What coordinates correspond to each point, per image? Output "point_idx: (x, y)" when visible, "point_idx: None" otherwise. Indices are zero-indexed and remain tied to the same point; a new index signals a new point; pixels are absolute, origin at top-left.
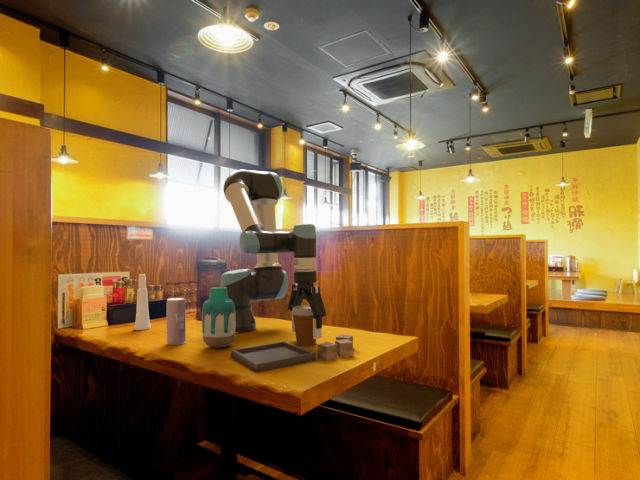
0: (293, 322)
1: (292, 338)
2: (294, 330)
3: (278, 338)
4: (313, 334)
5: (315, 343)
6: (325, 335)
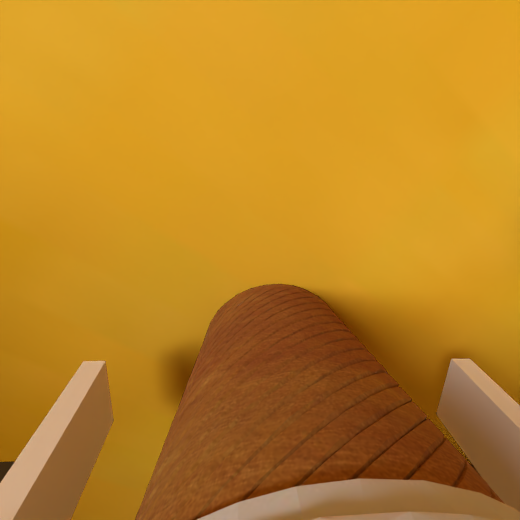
0: (73, 500)
1: (66, 345)
2: (107, 417)
3: (13, 417)
4: (460, 442)
5: (328, 306)
6: (113, 40)
